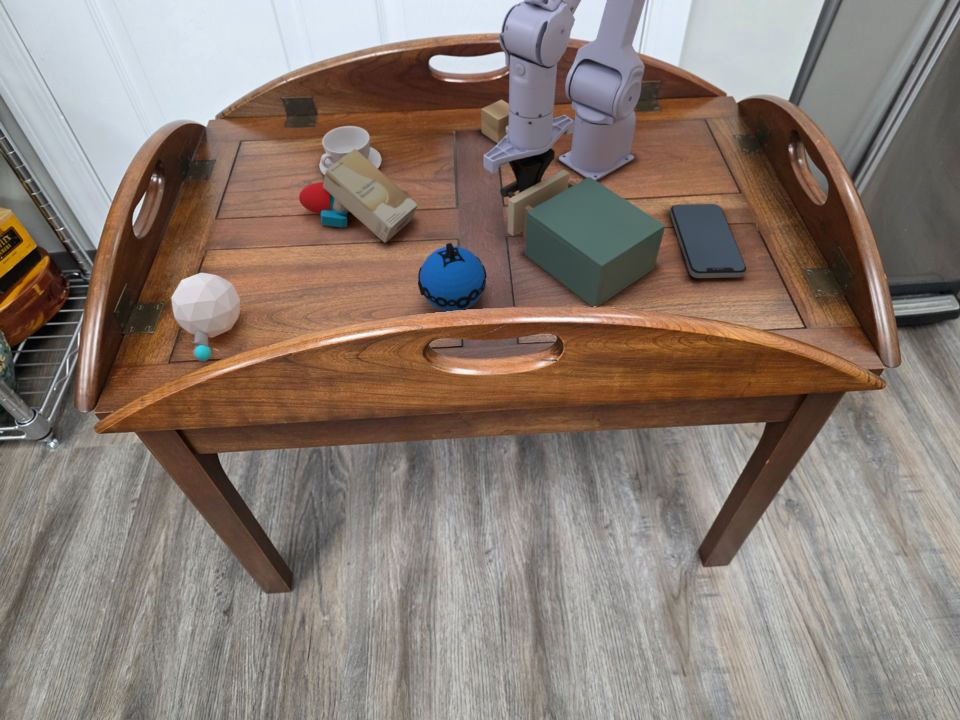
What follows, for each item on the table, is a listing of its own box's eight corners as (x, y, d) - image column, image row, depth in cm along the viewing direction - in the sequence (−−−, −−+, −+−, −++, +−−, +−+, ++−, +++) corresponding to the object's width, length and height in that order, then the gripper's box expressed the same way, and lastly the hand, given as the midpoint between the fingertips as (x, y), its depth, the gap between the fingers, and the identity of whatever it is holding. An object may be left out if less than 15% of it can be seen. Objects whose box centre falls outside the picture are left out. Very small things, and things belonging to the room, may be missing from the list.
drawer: (488, 217, 95) (487, 184, 90) (540, 188, 99) (543, 155, 94) (568, 279, 86) (572, 246, 82) (622, 245, 90) (629, 211, 86)
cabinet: (524, 254, 91) (526, 211, 85) (583, 219, 95) (589, 176, 89) (594, 309, 84) (601, 266, 78) (654, 268, 89) (665, 225, 83)
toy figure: (400, 198, 101) (301, 193, 99) (402, 173, 97) (299, 167, 95) (401, 233, 97) (298, 229, 94) (403, 208, 93) (296, 203, 90)
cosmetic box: (391, 229, 89) (324, 170, 89) (385, 244, 93) (320, 188, 92) (420, 203, 92) (354, 146, 92) (412, 219, 96) (349, 164, 96)
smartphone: (720, 202, 95) (749, 270, 85) (717, 211, 96) (745, 280, 87) (669, 203, 95) (692, 272, 85) (666, 212, 96) (689, 281, 87)
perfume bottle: (254, 276, 84) (254, 354, 78) (214, 306, 87) (211, 382, 81) (199, 249, 78) (195, 330, 72) (159, 282, 82) (152, 362, 75)
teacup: (355, 139, 109) (350, 114, 106) (394, 163, 105) (390, 137, 101) (307, 165, 105) (300, 140, 101) (345, 191, 100) (340, 166, 97)
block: (501, 123, 111) (501, 99, 108) (518, 134, 109) (518, 110, 106) (481, 132, 110) (481, 108, 106) (498, 144, 108) (498, 120, 104)
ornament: (496, 315, 84) (496, 258, 76) (433, 334, 82) (426, 277, 74) (473, 272, 89) (471, 214, 81) (413, 289, 87) (405, 231, 79)
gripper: (551, 75, 87) (545, 162, 98) (467, 114, 81) (470, 201, 92) (588, 95, 84) (578, 183, 94) (503, 138, 78) (502, 226, 89)
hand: (527, 194), depth 93 cm, fingers closed, pressing on drawer
